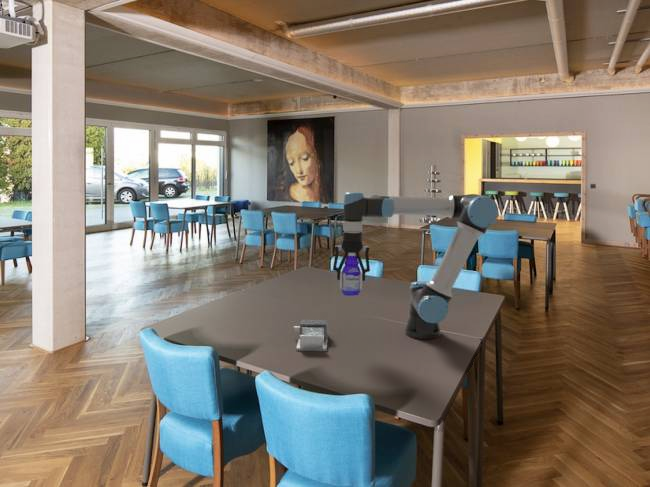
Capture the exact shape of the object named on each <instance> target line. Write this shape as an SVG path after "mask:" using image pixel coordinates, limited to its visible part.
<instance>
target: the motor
mask: <svg viewBox="0 0 650 487" xmlns="http://www.w3.org/2000/svg"><path fill="white" fill-rule="evenodd" d="M302 327H324V339H328V340H329V333H328V320H327V319H301V320H300V323H299V325H294V326H293V332H299V336H298V339H299V338H300V335H302Z"/></svg>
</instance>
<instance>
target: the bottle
mask: <svg viewBox="0 0 650 487" xmlns="http://www.w3.org/2000/svg"><path fill="white" fill-rule="evenodd" d="M341 271H342V289H341V292H342V294H343V295H344V296H348V297H349V296H351V297H353V296H358V295H359V294H360V293H361V292H360V291H361V289H360V273H361V272H362V271H361V267H360V264H359V261H358V259H357V256H356V253H351V252H349V253H348V255H347V257H346V260H345V262H344V265H343V267H342V269H341Z"/></svg>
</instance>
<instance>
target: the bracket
mask: <svg viewBox="0 0 650 487" xmlns="http://www.w3.org/2000/svg"><path fill="white" fill-rule="evenodd" d="M299 336H300V338H299V337H298V340H297V344H296V348H295V351H299V352H300V351H305V352H306V351H307V352H308V351H309V352H311V351H312V352H327V350H328V349H327V348H328V340H329V338H328V339H324V327H302V335H300V334H299Z"/></svg>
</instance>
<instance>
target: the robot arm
mask: <svg viewBox="0 0 650 487" xmlns="http://www.w3.org/2000/svg"><path fill="white" fill-rule="evenodd" d="M343 197H344V198H343V220H342V222H343V223H342V230H343V231H344V232H342V243H341V244H340V245H335V246H334V251H335V254H334V255H335V256H334V260H333V261H334V262H333V266H332V270H333V272H334V271H335V272H336V274H337V275H336V279H337V281H339V289H340V290H342V270H343V267H344V265H345V263H344V262H345V260H346V257H347V255H348V253H349V252H351V253H356V256H357V260H358V262H359V264H358V265H359V268H360V272H361V273H360V290H362V289H363V282H364V281H366V273H369V272H370V271H371V269H370V268H371V267H370V257H369V256H370V255H369V252H370V247H369V246H366V245H363V242H362V241H363V233H362V231H363V221H364V220H363V218H385V219H386V218H393V216H394V215H397V216H398V215H399V216H400V215H402V216H405V215H406V216H434V217H435V216H436V217H437V216H438V217H448V218H449V219H454V220H456V223H457V229H456V230H455V233H454V235H453V237H452V239H451V241H450V242H449V245H448V246H447V249H446V251H445V252H444V255H443V257H442V258H441V261H440V262H439V264H438V266H437V269H436V270H435V273H434V275H433V276H432V279H431V280H429V281H425V280H424V281H423V280H420V281H412V282H411V283H410V287H409V291H410V292H409V293H410V294H409V315H408V319H407V321H406V324H405V326H404V333H405V335H407V336H408V337H410V338H414V339H419V340H420V339H421V340H432V339H437V338H439V337H440V336H441V326H440V324H439V323H441V322H442V321H443V320H445V319H446V317H447V316H448V314H449V307H450V306H449V304H450V302H451V300H452V298H453V294H452V290H453V287H454V285H455V283H456V281H457V280H458V278H459V275H460V274H461V272H462V270H463V268H464V265H465V263H466V262H467V260H468V258H469V256H470V254H471V253H472V251H473V248H474V247H475V244H476V243H477V241H478V238H479V237H482V236H484V235H485V234H486V232H487V230H488V228H489V227H491V226H492V225H493V224H494V223H495V222H496V221H497V220H498V217H499V207H498V205H497V202H496V201H495V200H494V199H493V198H491V197H489V196H486V195H483V194H475V193H471V194H460V195H452V194H451V195H450V196H448V197H434V196H433V197H430V196H429V197H428V196H393V195H392V196H391V195H390V196H385V195H371V196H369V197H365V196H364V193H363V192H355V191H354V192H353V191H350V192H345V194H344V196H343ZM341 249H342V251H344V254H343V256H342V259H341V261H340V262H339V265H338V259H339V253H340V252H341ZM362 249H363V252H364V255H365V266H364V263H363V260H362V258H361V255H360V252H361V251H362ZM365 267H366V268H365Z"/></svg>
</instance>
